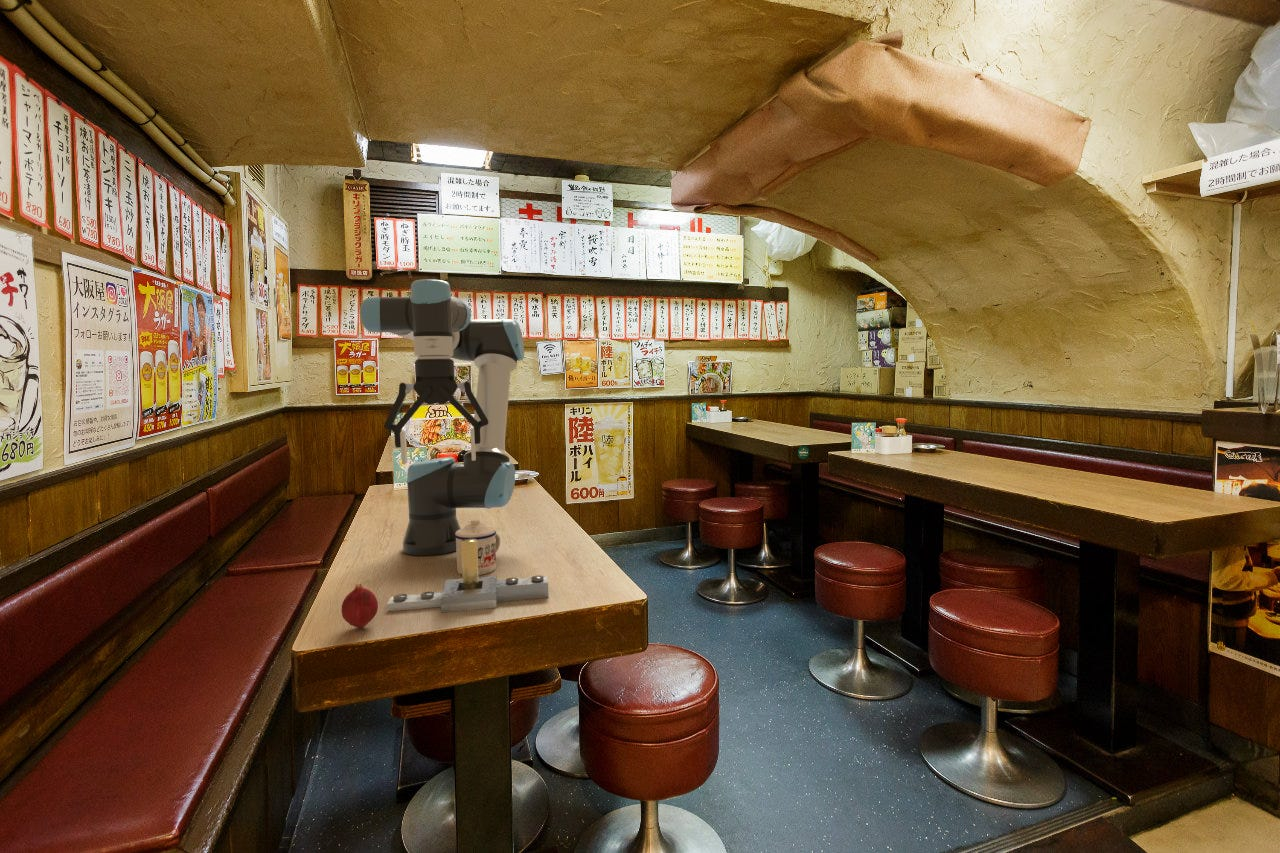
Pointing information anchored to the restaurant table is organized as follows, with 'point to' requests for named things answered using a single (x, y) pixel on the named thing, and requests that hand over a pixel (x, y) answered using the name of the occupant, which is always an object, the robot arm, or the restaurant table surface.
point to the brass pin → (470, 564)
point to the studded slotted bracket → (473, 594)
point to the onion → (359, 607)
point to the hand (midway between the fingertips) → (439, 461)
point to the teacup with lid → (479, 545)
